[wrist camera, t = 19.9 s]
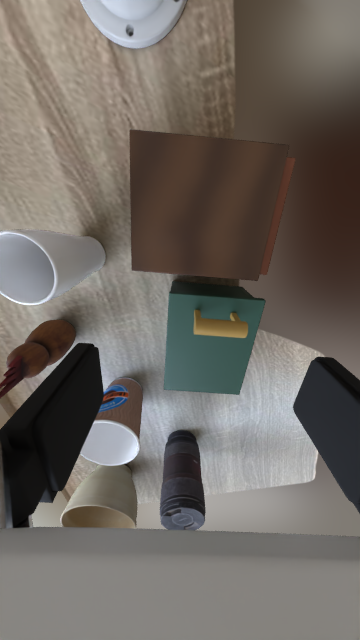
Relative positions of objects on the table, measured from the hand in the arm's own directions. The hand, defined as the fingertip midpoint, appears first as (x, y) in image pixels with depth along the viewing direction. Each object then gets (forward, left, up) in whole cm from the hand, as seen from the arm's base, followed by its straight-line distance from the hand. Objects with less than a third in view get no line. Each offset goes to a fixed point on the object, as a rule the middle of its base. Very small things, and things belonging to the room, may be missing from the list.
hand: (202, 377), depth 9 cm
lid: (+8, +3, -17) cm, 19 cm away
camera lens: (+39, +2, -26) cm, 47 cm away
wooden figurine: (+12, -22, -26) cm, 36 cm away
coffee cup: (+25, -11, -26) cm, 38 cm away
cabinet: (-8, 0, -26) cm, 27 cm away
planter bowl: (+53, -15, -26) cm, 61 cm away
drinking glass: (-2, -16, -26) cm, 30 cm away
